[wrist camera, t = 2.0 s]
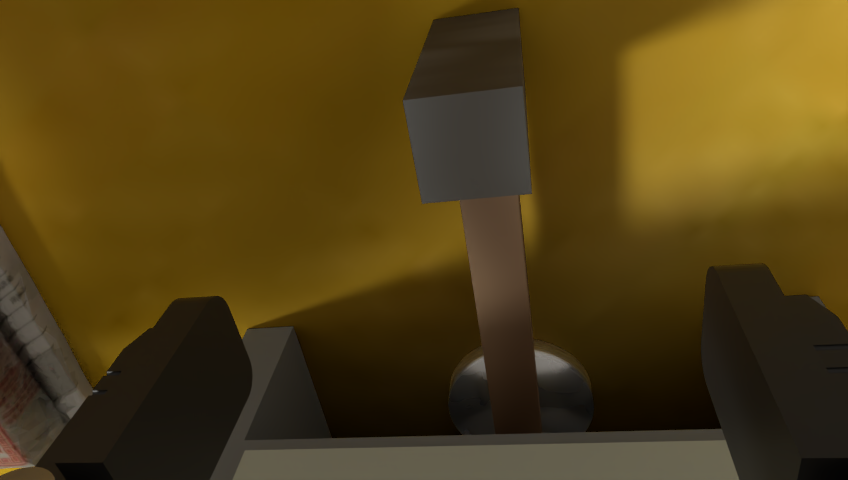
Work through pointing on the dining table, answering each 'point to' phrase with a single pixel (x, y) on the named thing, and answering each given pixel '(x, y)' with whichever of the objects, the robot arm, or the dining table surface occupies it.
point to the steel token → (557, 385)
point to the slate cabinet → (435, 440)
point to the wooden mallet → (483, 186)
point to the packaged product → (32, 368)
